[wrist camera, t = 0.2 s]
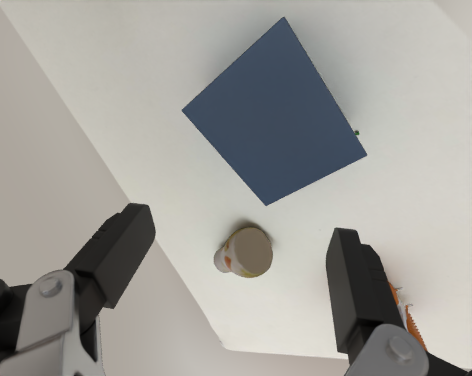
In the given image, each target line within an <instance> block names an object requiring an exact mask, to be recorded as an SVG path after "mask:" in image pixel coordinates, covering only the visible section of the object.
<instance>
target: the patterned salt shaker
mask: <svg viewBox="0 0 472 376" xmlns="http://www.w3.org/2000/svg"><path fill="white" fill-rule="evenodd" d="M272 258H273V252H272V247H271V243H270V241H269V240H268V239H267V237H266V236H265V234H264V233H263V232H262V231H261V230H259V229H256V228H253V227H249V228H242V229H239V230H237V231H236V232H234V233H233V234H232V235H231V236H230V237H229V238H228V240H227V242H226V243H225V245H224V247H223V248H221V249H219V250H218V251H216V253H215V255H214V264H215V266H216V268H217V269H218V270H219V271H221V272H223V273H227V272H233V273H235V274H236V275H239V276H241V277H245V278H254V277H257V276H260V275H262V274H263V273H265V272H266V271H267V270H268V269H269V268H270V266H271V263H272Z"/></svg>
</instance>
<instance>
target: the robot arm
mask: <svg viewBox="0 0 472 376" xmlns="http://www.w3.org/2000/svg"><path fill="white" fill-rule="evenodd" d="M155 233H156V231H155V226H154V222H153V218H152V215H151V211H150V208H149V206H148V205H145V204H137V203H130V204H128V205H127V206H126V207H125V209H124V210H123V211H122V212H121V213H116V214H115V215H113V216H112V217H110V218H109V219H107V220H106V221H105V222H104V224H103V225H102V226H101V227H100V228H99V230H98V231H96V233H95V234H94V235H93V236H92V239H90V240H89V241H88V242H87V243H86V244H85V246H83V248H82V249H81V250H80V251H79V252H78V253H77V254H76V255H75V257H74V258H73V259H72V260H71V261H70V262H69V264H68V265H67V266H66V267H65V268H64V269H63V270H56V271H53V272H50V273H48V274H46V275H44V276H42V277H41V278H39V279H38V280H37V281H36V282H34V283H33V284H27V285H20V286H14V287H8V285H7V284H6V283H5V282H4V281H3V280H1V279H0V376H106V375H105V372H104V369H103V363H102V349H101V333H100V319H99V315H98V314H99V312H100V311H101V309H102V308H103V307H105V308H111V309H114V308H115V306H116V304H117V303H118V301H119V299H120V297H121V296H122V294H123V292H124V291H125V289H126V287H127V286H128V284H129V282H130V280H131V279H132V277H133V275H134V274H135V272H136V270H137V269H138V267H139V265H140V264H141V262H142V260H143V259H144V257H145V255H146V253H147V252H148V250H149V248H150V247H151V245H152V243H153V241H154V239H155ZM326 271H327V278H328V286H329V293H330V300H331V307H332V315H333V322H334V329H335V337H336V344H337V351H338V352H340V353H345V354H348V358H349V364H350V366H349V368H348V370H347V371H346V373H345V374H344V376H472V370H471V371H469V372H467V371H465V370H463V369H461V368H459V367H457V366H454V365H452V364H450V363H448V362H446V361H444V360H442V359H440V358H438V357H436V356H434V355H432V354H430V353H429V352H427V351H426V350H424V348H423V347H422V345H421V344H420V343H419V341H418V340H417V339H416V338H415V337H414V336H413V335H412V334H410V333H409V332H408V331H407V330H406V328H405V326H404V324H403V321H402V318H401V315H400V313H399V310H398V307H397V304H396V301H395V299H394V296H393V293H392V290H391V288H390V285H389V282H387V280H388V279H387V276H386V274H385V272H384V268H383V265H382V263H381V260H380V257H379V256H378V254H377V253H376V252H375V251H374V250H373V248H372V247H371V246H370V245H365V244H361V242H360V239H359V236H358V233H357V231H356V230H353V229H344V228H335V229H334V232H333V235H332V238H331V241H330V244H329V247H328V251H327V254H326Z"/></svg>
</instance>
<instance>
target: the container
mask: <svg viewBox="0 0 472 376" xmlns="http://www.w3.org/2000/svg"><path fill="white" fill-rule="evenodd" d="M182 112H183V113H184V114H185V115H186V116H187V117H188V118H189V120H190V121H191V122H192V123H193V124H194V125H195V126H196V128H197V129H198V130H199V131H200V132H201V133H202V134H203V135H204V137H205V138H206V139H207V140H208V141H209V142H210V143H211V145H212V146H213V147H214V148H215V149H216V150H217V151H218V152H219V154H220V155H221V156H222V157H223V158H224V159H225V160H226V162H227V163H228V164H229V165H230V166H231V167H232V168H233V169H234V171H235V172H236V173H237V174H238V175H239V176H240V177H241V179H242V180H243V181H244V182H245V183H246V184H247V185H248V186H249V188H250V189H251V190H252V191H253V192H254V193H255V194H256V195H257V197H258V198H259V199H260V200H261V201H262V202H263V203H264V205H265V206H267V205H269V204H271V203H273V202H275V201H277V200H279V199H281V198H283V197H285V196H287V195H289V194H291V193H293V192H295V191H297V190H299V189H301V188H303V187H305V186H307V185H309V184H311V183H313V182H315V181H317V180H319V179H321V178H323V177H325V176H327V175H329V174H331V173H333V172H335V171H337V170H339V169H341V168H343V167H345V166H347V165H349V164H351V163H353V162H355V161H357V160H359V159H361V158H363V157H365V156H367V153H366V151H365V150H364V148H363V146H362V145H361V143H360V142H359V140H358V138H357V137H356V135H355V133H354V132H353V130H352V128H351V127H350V125H349V123H348V122H347V120H346V118H345V117H344V115H343V113H342V112H341V110H340V108H339V107H338V105H337V103H336V102H335V100H334V98H333V97H332V95H331V93H330V92H329V90H328V88H327V87H326V85H325V83H324V82H323V80H322V78H321V77H320V75H319V73H318V72H317V70H316V68H315V67H314V65H313V63H312V62H311V60H310V58H309V57H308V55H307V53H306V52H305V50H304V48H303V47H302V45H301V43H300V42H299V40H298V38H297V37H296V35H295V33H294V32H293V30H292V28H291V27H290V25H289V23H288V22H287V20H286V18H285V17H283V18H281V19H280V20H279V21H278V22H277V23H276V24H275V25H274V26H273V27H272V28H271V29H269V30H268V31H267V32H266V33H265V34H264V35H263V36H262V37H261V38H260V39H259V40H257V41H256V42H255V43H254V44H253V45H252V46H251V47H250V48H249V49H248V50H247V51H245V52H244V53H243V54H242V55H241V56H240V57H239V58H238V59H237V60H236V61H235V62H233V63H232V64H231V65H230V66H229V67H228V68H227V69H226V70H225V71H224V72H223V73H221V74H220V75H219V76H218V77H217V78H216V79H215V80H214V81H213V82H212V83H211V84H209V85H208V86H207V87H206V88H205V89H204V90H203V91H202V92H201V93H200V94H199V95H197V96H196V97H195V98H194V99H193V100H192V101H191V102H190V103H189V104H188V105H187V106H185V107H184V108H183V109H182Z"/></svg>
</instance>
